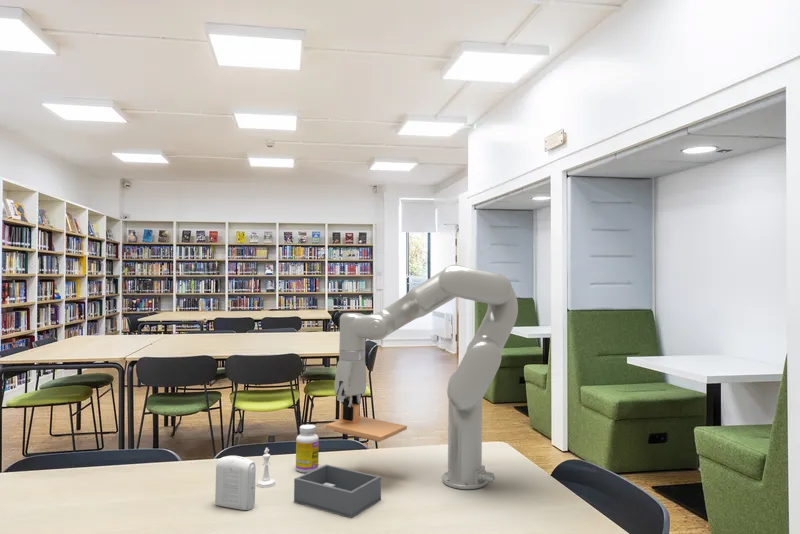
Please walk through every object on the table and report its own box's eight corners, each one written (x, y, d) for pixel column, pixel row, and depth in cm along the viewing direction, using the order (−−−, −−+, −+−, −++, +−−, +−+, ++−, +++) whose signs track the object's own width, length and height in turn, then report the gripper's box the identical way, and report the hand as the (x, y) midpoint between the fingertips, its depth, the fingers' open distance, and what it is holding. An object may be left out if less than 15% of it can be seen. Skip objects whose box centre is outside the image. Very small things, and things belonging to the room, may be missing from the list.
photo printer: (257, 505, 143) (258, 456, 143) (248, 512, 139) (248, 461, 139) (222, 500, 146) (223, 451, 146) (212, 506, 142) (213, 456, 142)
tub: (380, 500, 147) (381, 476, 147) (351, 518, 136) (351, 493, 136) (325, 486, 156) (326, 464, 156) (294, 502, 145) (294, 478, 145)
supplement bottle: (313, 474, 165) (314, 430, 165) (292, 472, 166) (292, 428, 167) (321, 466, 172) (321, 424, 172) (300, 465, 173) (301, 422, 173)
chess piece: (278, 482, 158) (279, 446, 159) (267, 488, 154) (268, 451, 154) (264, 479, 161) (265, 444, 161) (253, 485, 156) (253, 449, 156)
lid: (406, 432, 163) (407, 408, 163) (380, 444, 151) (382, 418, 151) (353, 421, 172) (354, 398, 172) (325, 431, 161) (326, 406, 161)
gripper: (357, 351, 174) (356, 411, 174) (324, 357, 160) (323, 423, 160) (378, 353, 170) (376, 415, 170) (346, 360, 156) (344, 427, 156)
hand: (351, 418), depth 165 cm, fingers closed on lid
